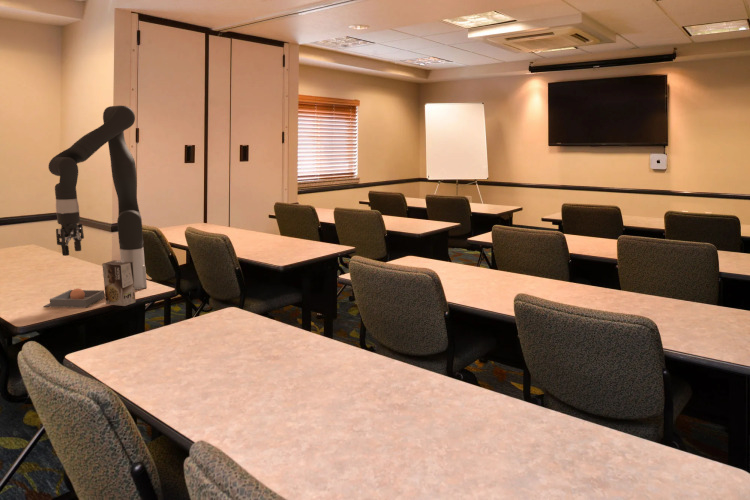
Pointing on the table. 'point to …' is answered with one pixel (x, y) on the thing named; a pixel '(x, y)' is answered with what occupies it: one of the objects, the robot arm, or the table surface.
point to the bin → (66, 300)
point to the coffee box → (119, 282)
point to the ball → (77, 294)
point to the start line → (47, 305)
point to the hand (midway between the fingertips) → (72, 253)
